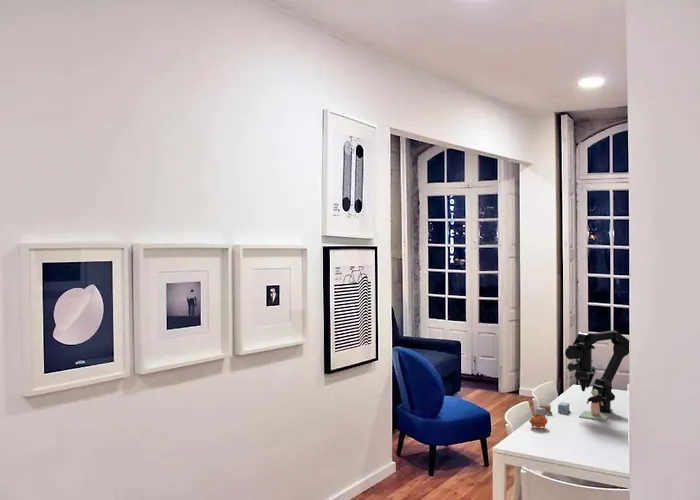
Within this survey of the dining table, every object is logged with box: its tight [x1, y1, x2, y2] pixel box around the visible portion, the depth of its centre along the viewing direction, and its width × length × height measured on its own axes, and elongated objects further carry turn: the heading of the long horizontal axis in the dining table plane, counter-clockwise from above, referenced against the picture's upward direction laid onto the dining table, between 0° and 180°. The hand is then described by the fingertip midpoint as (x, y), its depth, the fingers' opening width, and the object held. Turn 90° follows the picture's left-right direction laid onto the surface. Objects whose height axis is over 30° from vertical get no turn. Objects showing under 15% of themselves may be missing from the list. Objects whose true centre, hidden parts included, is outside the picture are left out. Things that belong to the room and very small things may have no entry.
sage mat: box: [578, 410, 611, 422], centre depth 303 cm, size 12×12×1 cm
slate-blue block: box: [557, 401, 570, 414], centre depth 312 cm, size 6×4×4 cm, turn 147°
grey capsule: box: [535, 407, 546, 418], centre depth 302 cm, size 4×4×4 cm
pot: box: [528, 413, 548, 431], centre depth 283 cm, size 8×8×7 cm
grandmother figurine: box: [585, 389, 603, 416], centre depth 303 cm, size 8×4×13 cm, turn 84°
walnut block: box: [539, 403, 552, 415], centre depth 310 cm, size 5×5×4 cm
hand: (585, 389), depth 308 cm, fingers open, 9 cm apart
